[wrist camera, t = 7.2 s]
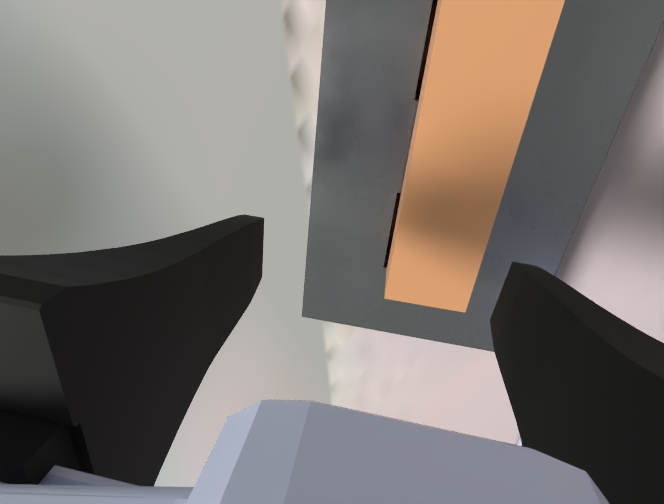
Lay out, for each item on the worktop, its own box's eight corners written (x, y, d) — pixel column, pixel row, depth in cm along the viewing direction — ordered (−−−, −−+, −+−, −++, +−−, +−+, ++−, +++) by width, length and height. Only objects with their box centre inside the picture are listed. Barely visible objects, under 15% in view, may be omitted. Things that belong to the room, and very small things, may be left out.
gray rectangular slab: (510, 332, 22) (519, 356, 21) (309, 297, 24) (301, 316, 22) (693, -126, 13) (738, -154, 11) (347, -146, 14) (339, -175, 13)
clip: (452, 258, 21) (465, 312, 17) (388, 248, 21) (384, 298, 17) (525, -3, 15) (573, -27, 11) (436, -11, 16) (449, -37, 11)
